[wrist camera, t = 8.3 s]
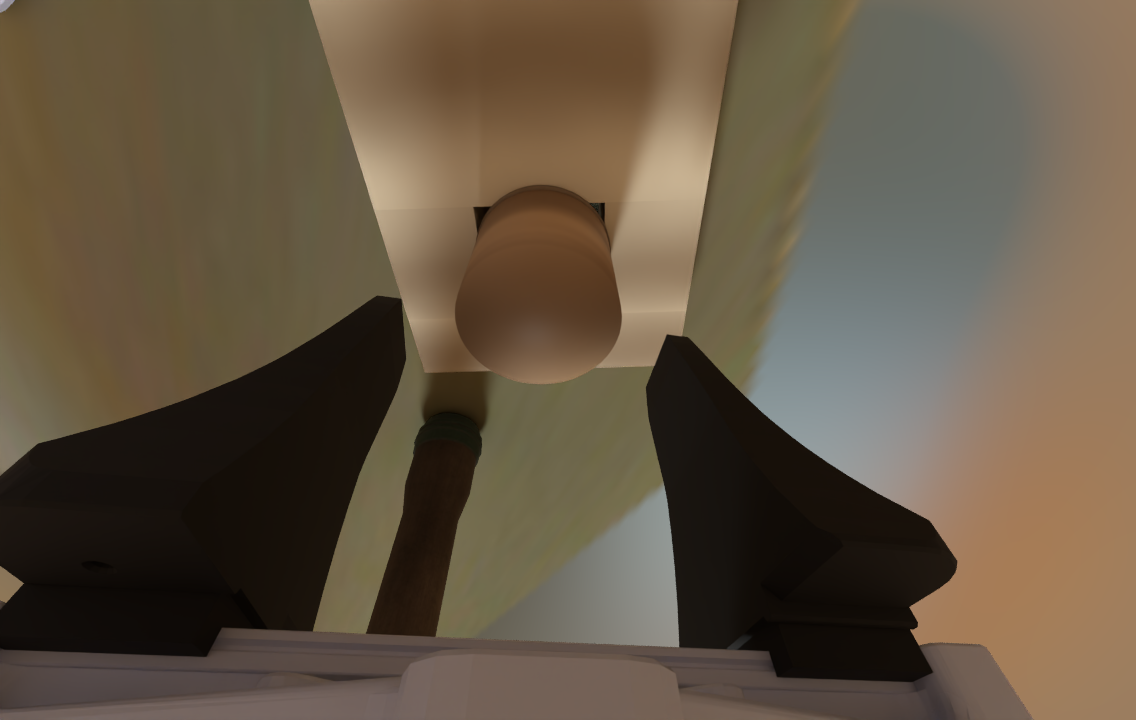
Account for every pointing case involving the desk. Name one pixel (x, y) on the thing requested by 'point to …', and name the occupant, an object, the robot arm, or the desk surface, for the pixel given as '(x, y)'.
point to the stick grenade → (427, 527)
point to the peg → (540, 288)
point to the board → (533, 138)
